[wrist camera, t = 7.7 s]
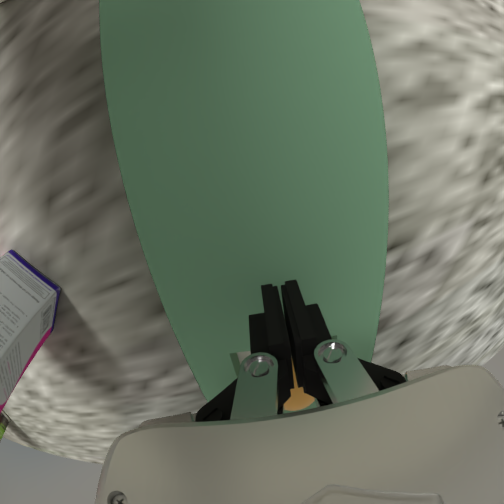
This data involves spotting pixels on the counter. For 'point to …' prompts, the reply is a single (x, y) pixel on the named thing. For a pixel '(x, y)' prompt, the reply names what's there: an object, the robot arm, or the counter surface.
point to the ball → (297, 397)
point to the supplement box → (22, 318)
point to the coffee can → (3, 423)
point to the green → (250, 164)
